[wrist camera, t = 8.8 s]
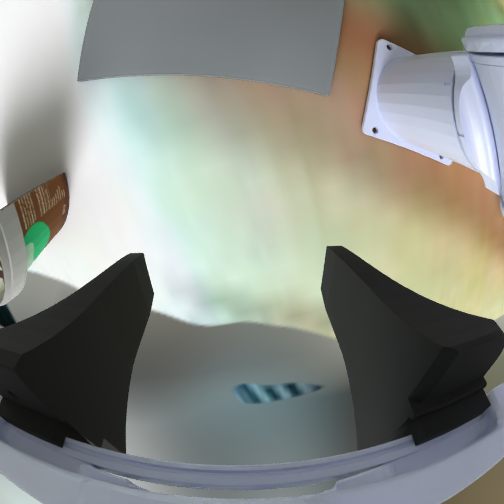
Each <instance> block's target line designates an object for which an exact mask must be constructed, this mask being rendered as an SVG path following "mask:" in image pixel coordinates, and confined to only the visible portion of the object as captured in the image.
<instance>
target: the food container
mask: <svg viewBox="0 0 504 504" xmlns="http://www.w3.org/2000/svg"><path fill="white" fill-rule="evenodd" d="M68 209H69V190H68V184H67V180H66V176H65V173H62V174H60V175H58V176H56V177H55V178H53V179H51V180H49V181H47V182H45V183H43V184H41V185H40V186H38V187H36V188H34V189H33V190H31V191H29V192H27V193H26V194H24V195H22V196H21V197H19V198H17V199H16V200H14V201H13V202H11V203H10V204H8V205H6V206H5V207H3V208H2V209H1V210H0V306H2V305H5V304H6V303H8V302H9V301H10V300H12V299H13V298H14V297H16V296H17V295H18V294H19V293H20V292H21V291H22V289H23V287H24V285H25V282H26V277H27V269H28V268H29V267H30V265H31V264H32V263H33V262H34V260H35V259H36V258H37V257H38V255H39V254H40V253H41V252H42V250H43V249H44V248H45V247H46V246H47V244H48V243H49V242H50V241H51V240H52V239H53V237H54V236H55V235H56V234H57V233H58V232H59V231H60V229H61V228H62V227H63V225H64V223H65V221H66V218H67V215H68Z"/></svg>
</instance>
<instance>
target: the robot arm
mask: <svg viewBox="0 0 504 504" xmlns="http://www.w3.org/2000/svg"><path fill="white" fill-rule="evenodd" d="M461 41H462V43H463V46H464V48H465V50H459V51H446V52H437V53H428V54H421V55H415V54H414V53H412V52H410V51H408V50H406V49H404V48H402V47H400V46H397V45H395V44H393V43H391V42H389V41H387V40H384V39H379V40H378V41H377V42H376V47H375V54H374V61H373V68H372V74H371V80H370V86H369V91H368V97H367V102H366V107H365V112H364V117H363V122H362V131H363V133H364V134H366V135H370V136H373V137H376V138H379V139H382V140H385V141H388V142H391V143H394V144H396V145H399V146H402V147H405V148H407V149H410V150H413V151H415V152H418V153H420V154H423V155H425V156H428V157H430V158H432V159H435V160H437V161H439V162H442V163H444V164H446V165H450V164H451V163H452V161H455V162H457V163H459V164H462V165H464V166H466V167H468V168H470V169H472V170H475V171H477V172H479V173H480V174H481V175H482V177H483V179H484V182H485V187H486V188H487V189H489V190H491V191H493V192H494V193H496V194H498V195H500V208H501V211H502V215H503V217H504V24H496V25H484V26H475V27H468V28H467V29H466V32H465V36H464V37H462V39H461ZM387 45H388V46H389V47H390V50H388V49H387ZM374 127H375V128H376V132H375V133H373V132H372V129H373V128H374ZM439 156H441V157H439ZM321 291H322V296H323V300H324V304H325V308H326V311H327V314H328V317H329V319H330V322H331V325H332V327H333V330H334V333H335V335H336V338H337V341H338V343H339V346H340V349H341V351H342V354H343V358H344V361H345V365H346V369H347V374H348V378H349V383H350V389H351V394H352V399H353V406H354V414H355V422H356V433H357V445H358V446H357V447H358V451H355V452H351V453H346V454H341V455H336V456H332V457H326V458H320V459H314V460H306V461H299V462H290V463H279V464H266V465H203V464H189V463H179V462H170V461H162V460H156V459H149V458H144V457H138V456H133V455H128V454H126V413H127V401H128V392H129V386H130V379H131V374H132V368H133V364H134V360H135V357H136V354H137V351H138V348H139V345H140V341H141V339H142V336H143V333H144V330H145V327H146V324H147V321H148V318H149V315H150V311H151V307H152V302H153V297H154V292H153V288H152V285H151V281H150V277H149V274H148V270H147V266H146V262H145V258H144V254H143V253H130V254H128V255H126V256H125V257H123V258H121V259H120V260H119V261H117V262H116V263H114V264H113V265H112V266H110V267H109V268H108V269H106V270H105V271H104V272H102V273H101V274H100V275H98V276H97V277H96V278H94V279H93V280H91V281H90V282H89V283H87V284H86V285H84V286H83V287H82V288H80V289H79V290H77V291H76V292H74V293H73V294H71V295H70V296H68V297H67V298H65V299H63V300H62V301H60V302H58V303H57V304H55V305H53V306H52V307H50V308H48V309H46V310H44V311H42V312H40V313H38V314H36V315H34V316H32V317H30V318H27V319H25V320H23V321H20V322H18V323H15V324H13V325H10V326H7V327H4V328H1V329H0V395H1V396H2V397H3V398H2V400H1V403H0V473H1V474H2V475H4V476H5V477H6V478H7V479H9V480H10V481H11V482H13V483H14V484H15V485H16V486H18V487H19V488H20V489H22V490H23V491H25V492H26V493H28V494H29V495H30V496H32V497H34V498H35V499H37V500H38V501H40V502H41V503H43V504H441V503H443V502H444V501H446V500H448V499H449V498H451V497H452V496H454V495H455V494H457V493H458V492H460V491H461V490H463V489H464V488H466V487H467V486H469V485H470V484H471V483H473V482H474V481H475V480H477V479H478V478H479V477H481V476H482V475H483V474H484V473H486V472H487V471H488V470H489V469H490V468H492V467H493V466H494V465H495V464H496V463H498V462H499V461H500V460H501V459H502V458H503V457H504V383H502V384H501V385H499V386H497V387H495V388H494V389H492V390H491V391H490V392H489V393H487V394H485V392H484V390H483V388H484V387H485V386H486V384H487V382H486V381H485V379H484V377H483V376H484V375H485V374H486V372H487V371H488V370H489V369H490V367H491V366H492V365H493V364H494V362H495V361H496V360H497V358H498V357H499V355H500V354H501V352H502V350H503V348H504V333H503V331H502V330H501V329H500V327H499V326H498V325H497V323H496V322H495V321H494V320H492V319H487V318H483V317H479V316H475V315H471V314H467V313H464V312H461V311H458V310H455V309H452V308H449V307H447V306H444V305H442V304H439V303H437V302H435V301H432V300H430V299H428V298H425V297H423V296H421V295H419V294H417V293H415V292H413V291H412V290H410V289H408V288H406V287H404V286H402V285H401V284H399V283H397V282H396V281H394V280H392V279H391V278H389V277H388V276H386V275H384V274H383V273H381V272H380V271H378V270H377V269H375V268H374V267H373V266H371V265H370V264H368V263H367V262H365V261H364V260H362V259H361V258H360V257H358V256H357V255H355V254H354V253H352V252H351V251H349V250H348V249H346V248H344V247H343V246H327V249H326V256H325V264H324V271H323V278H322V284H321ZM107 472H108V473H107ZM110 473H112V474H115V475H119V476H123V477H127V478H132V479H136V480H141V481H146V482H151V483H157V484H163V485H169V486H177V487H186V488H196V489H210V490H263V489H278V488H288V487H296V486H304V485H311V484H318V483H323V482H328V481H334V480H339V479H343V478H346V479H343V480H339V481H337V482H336V483H335V486H334V487H333V488H331V489H329V490H326V491H324V492H323V493H321V494H314V495H305V496H296V497H283V498H265V499H219V498H202V497H191V496H180V495H172V494H164V493H157V492H151V491H149V490H146V489H143V488H141V487H139V486H137V485H134V484H133V483H131V482H130V481H129V480H127V479H124V478H121V477H118V476H115V475H112V474H110ZM347 477H349V478H347Z"/></svg>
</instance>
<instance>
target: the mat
mask: <svg viewBox="0 0 504 504" xmlns="http://www.w3.org/2000/svg"><path fill="white" fill-rule="evenodd" d="M343 8H344V0H94V1H93V4H92V8H91V12H90V15H89V19H88V23H87V28H86V32H85V37H84V42H83V47H82V52H81V58H80V65H79V72H78V80H77V81H88V80H96V79H104V78H114V77H127V76H148V75H184V76H205V77H219V78H229V79H238V80H246V81H254V82H261V83H267V84H273V85H278V86H284V87H289V88H294V89H299V90H303V91H307V92H312V93H316V94H320V95H324V96H330V90H331V85H332V79H333V74H334V68H335V62H336V56H337V49H338V43H339V36H340V30H341V23H342V15H343Z"/></svg>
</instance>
